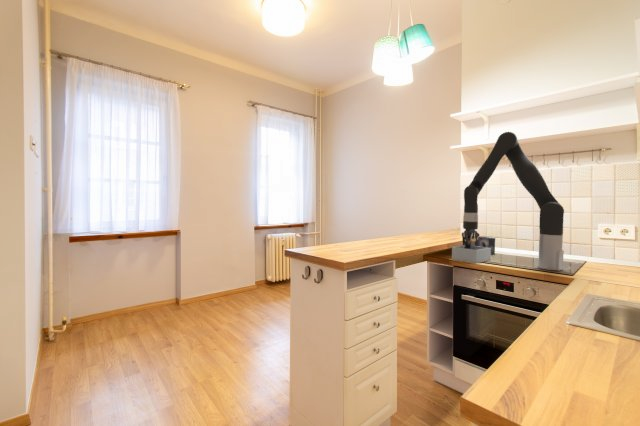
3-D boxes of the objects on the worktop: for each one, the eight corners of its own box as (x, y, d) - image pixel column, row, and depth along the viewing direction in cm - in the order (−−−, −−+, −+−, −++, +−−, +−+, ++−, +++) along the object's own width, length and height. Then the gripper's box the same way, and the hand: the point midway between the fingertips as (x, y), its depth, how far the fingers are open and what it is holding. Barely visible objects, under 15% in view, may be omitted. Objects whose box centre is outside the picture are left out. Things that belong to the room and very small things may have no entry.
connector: (475, 256, 172) (475, 238, 171) (471, 257, 169) (471, 239, 169) (467, 255, 175) (468, 238, 175) (463, 255, 173) (464, 238, 172)
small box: (473, 252, 196) (473, 236, 196) (480, 251, 199) (480, 236, 199) (488, 255, 187) (488, 238, 186) (495, 254, 190) (495, 238, 189)
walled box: (490, 260, 171) (490, 247, 170) (476, 263, 161) (476, 250, 161) (466, 256, 182) (466, 244, 182) (451, 259, 173) (452, 247, 172)
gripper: (470, 221, 164) (469, 252, 165) (483, 220, 173) (482, 250, 173) (457, 220, 170) (456, 250, 171) (470, 219, 179) (469, 248, 179)
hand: (469, 250), depth 172 cm, fingers closed on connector, 4 cm apart
